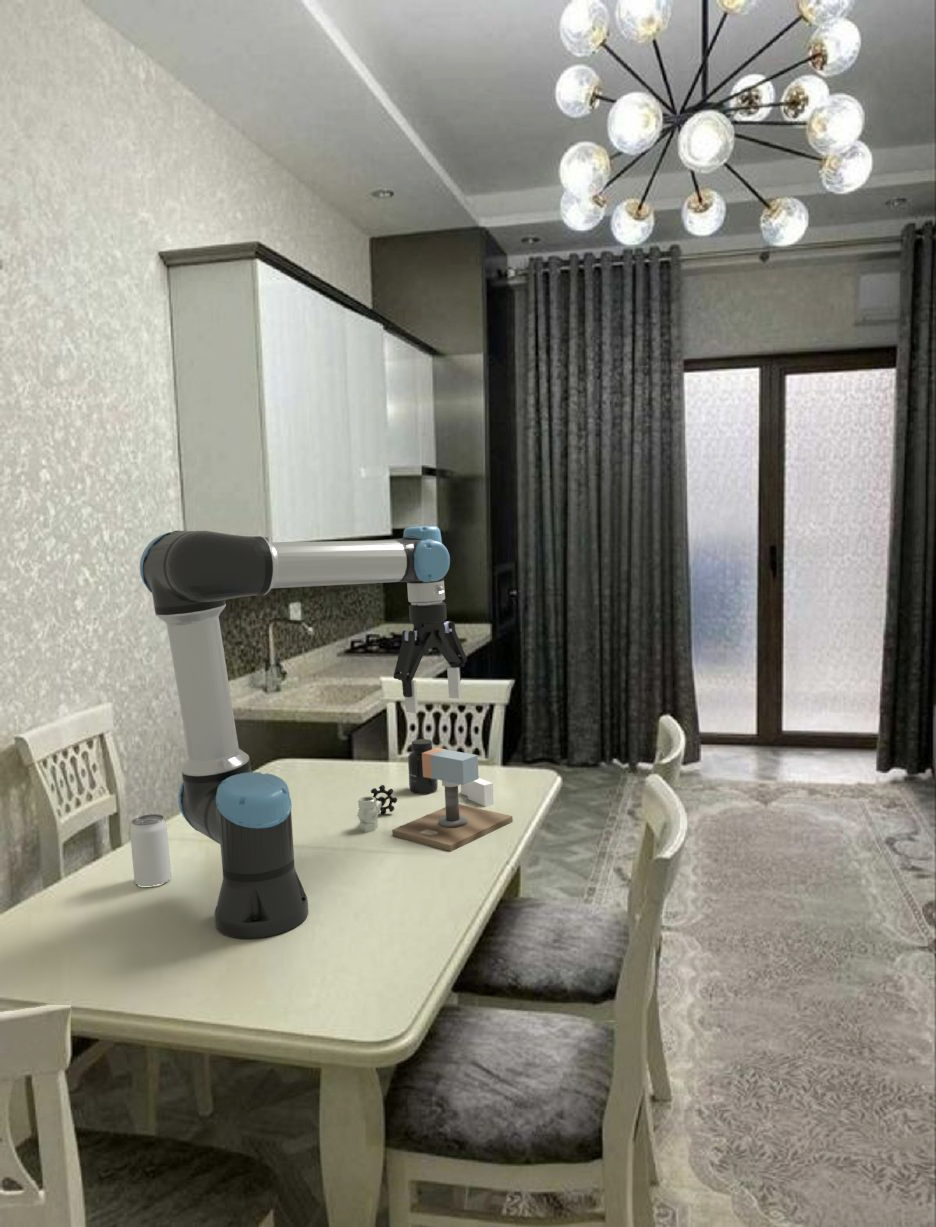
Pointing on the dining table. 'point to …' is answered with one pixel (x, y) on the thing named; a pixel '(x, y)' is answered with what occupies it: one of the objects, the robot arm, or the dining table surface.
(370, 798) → the valve
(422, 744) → the supplement bottle
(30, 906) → the dining table surface
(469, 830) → the board
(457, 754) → the blue-orange block
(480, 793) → the white stepped block
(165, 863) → the can
